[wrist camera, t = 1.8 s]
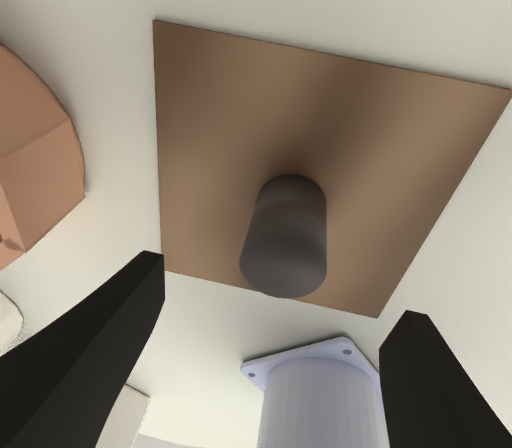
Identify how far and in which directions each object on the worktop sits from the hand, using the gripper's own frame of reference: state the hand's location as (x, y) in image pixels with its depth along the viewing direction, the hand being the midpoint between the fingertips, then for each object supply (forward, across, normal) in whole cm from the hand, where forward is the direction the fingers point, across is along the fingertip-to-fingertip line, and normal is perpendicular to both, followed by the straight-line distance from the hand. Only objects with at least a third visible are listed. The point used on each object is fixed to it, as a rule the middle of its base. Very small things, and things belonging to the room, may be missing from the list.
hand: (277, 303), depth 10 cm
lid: (+6, 0, 0) cm, 6 cm away
